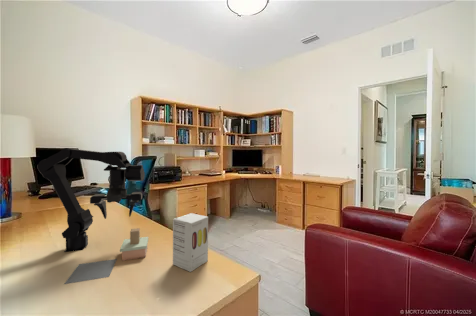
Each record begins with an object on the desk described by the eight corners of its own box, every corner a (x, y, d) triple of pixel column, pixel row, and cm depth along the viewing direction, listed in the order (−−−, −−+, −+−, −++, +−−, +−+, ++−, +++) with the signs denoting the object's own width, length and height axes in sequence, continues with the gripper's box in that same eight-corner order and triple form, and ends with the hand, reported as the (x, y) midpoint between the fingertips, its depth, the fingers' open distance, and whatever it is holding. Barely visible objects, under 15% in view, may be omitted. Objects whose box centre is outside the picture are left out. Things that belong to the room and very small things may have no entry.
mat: (63, 285, 64) (63, 284, 64) (79, 265, 76) (79, 264, 76) (109, 278, 68) (109, 276, 68) (117, 259, 79) (117, 258, 79)
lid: (124, 241, 86) (124, 227, 86) (148, 239, 89) (148, 224, 89) (119, 251, 77) (119, 235, 77) (146, 248, 80) (146, 232, 80)
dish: (122, 261, 78) (121, 251, 78) (125, 251, 86) (125, 242, 86) (145, 258, 81) (145, 247, 81) (147, 249, 88) (147, 239, 88)
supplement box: (190, 272, 71) (190, 223, 71) (171, 264, 76) (171, 218, 76) (208, 260, 80) (208, 216, 79) (190, 254, 84) (190, 212, 84)
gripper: (84, 185, 79) (85, 226, 80) (139, 182, 85) (139, 221, 86) (94, 181, 90) (94, 217, 90) (142, 179, 96) (142, 213, 96)
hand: (117, 217), depth 90 cm, fingers open, 9 cm apart
